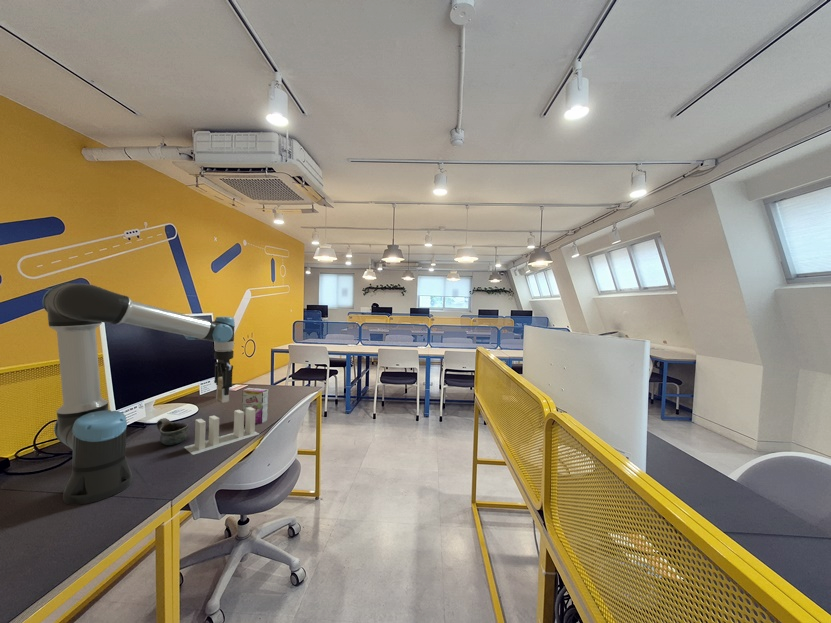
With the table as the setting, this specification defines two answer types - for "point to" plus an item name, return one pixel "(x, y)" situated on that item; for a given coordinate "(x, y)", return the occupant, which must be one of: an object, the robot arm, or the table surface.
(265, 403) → the candy bar box
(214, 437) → the domino
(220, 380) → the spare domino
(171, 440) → the mug
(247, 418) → the domino
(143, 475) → the table surface
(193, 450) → the mat
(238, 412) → the domino
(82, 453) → the robot arm
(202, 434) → the domino
